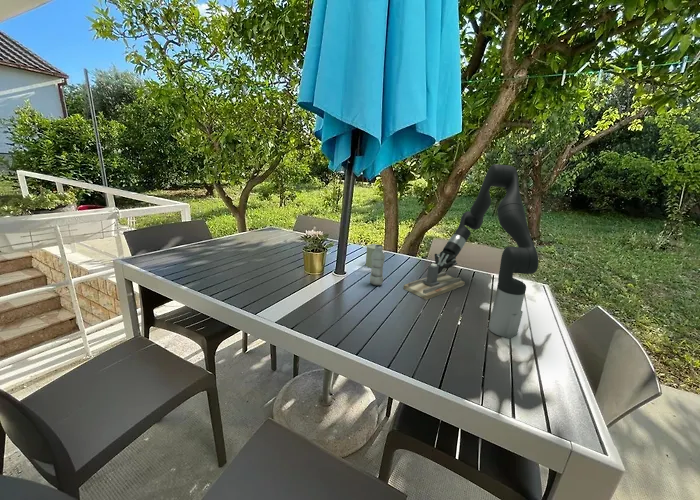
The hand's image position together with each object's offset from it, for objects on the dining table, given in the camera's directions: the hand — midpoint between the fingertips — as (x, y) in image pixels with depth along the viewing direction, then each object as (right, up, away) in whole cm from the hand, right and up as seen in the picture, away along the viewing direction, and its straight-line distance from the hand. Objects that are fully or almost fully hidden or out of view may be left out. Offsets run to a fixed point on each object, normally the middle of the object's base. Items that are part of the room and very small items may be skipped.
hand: (436, 272), depth 153 cm
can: (-29, +2, +28) cm, 40 cm away
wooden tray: (0, -7, +3) cm, 8 cm away
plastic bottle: (-29, -6, +3) cm, 30 cm away
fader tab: (-2, -5, 0) cm, 6 cm away
